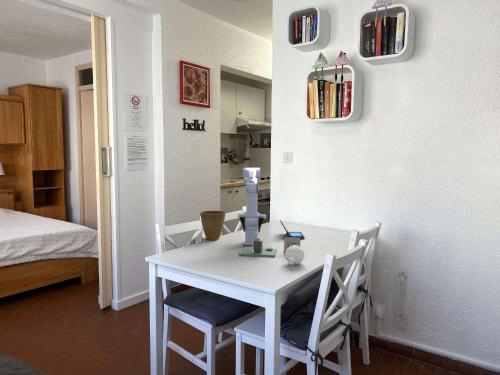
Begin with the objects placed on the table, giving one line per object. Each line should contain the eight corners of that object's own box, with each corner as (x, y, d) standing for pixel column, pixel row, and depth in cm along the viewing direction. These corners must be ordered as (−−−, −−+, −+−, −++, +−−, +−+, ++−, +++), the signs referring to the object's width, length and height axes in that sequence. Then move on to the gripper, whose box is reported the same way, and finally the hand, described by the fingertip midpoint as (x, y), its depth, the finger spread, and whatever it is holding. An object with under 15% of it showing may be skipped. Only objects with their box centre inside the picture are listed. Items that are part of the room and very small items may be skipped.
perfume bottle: (285, 256, 184) (279, 266, 173) (290, 239, 181) (285, 248, 170) (302, 262, 182) (297, 273, 171) (308, 246, 179) (303, 256, 168)
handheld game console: (304, 239, 226) (305, 224, 225) (282, 239, 226) (282, 224, 225) (300, 233, 242) (301, 219, 241) (279, 233, 242) (279, 219, 241)
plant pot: (221, 242, 218) (221, 214, 216) (196, 241, 221) (196, 213, 219) (228, 236, 232) (228, 210, 231) (204, 235, 235) (204, 209, 234)
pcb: (242, 249, 203) (242, 242, 203) (276, 250, 201) (276, 244, 200) (238, 255, 191) (238, 248, 191) (274, 257, 189) (275, 250, 188)
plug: (254, 249, 199) (255, 238, 198) (262, 249, 198) (262, 238, 198) (253, 252, 193) (253, 240, 192) (261, 253, 192) (261, 241, 192)
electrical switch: (283, 253, 195) (283, 237, 195) (284, 252, 199) (284, 236, 199) (300, 254, 193) (300, 238, 193) (300, 253, 198) (301, 237, 198)
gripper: (236, 206, 196) (236, 232, 197) (265, 207, 194) (264, 233, 195) (239, 204, 203) (239, 230, 204) (266, 205, 201) (266, 230, 202)
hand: (251, 231), depth 200 cm, fingers open, 7 cm apart
